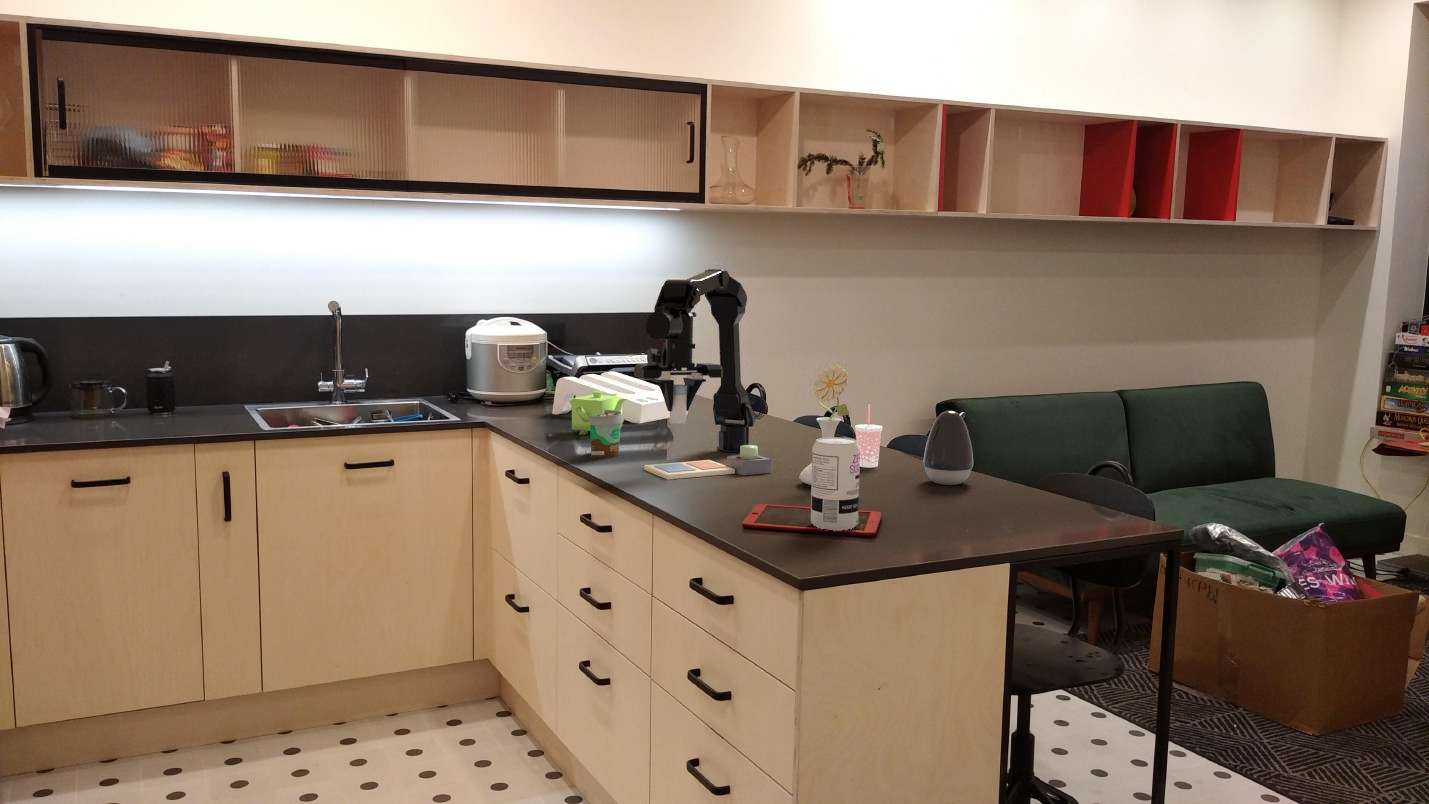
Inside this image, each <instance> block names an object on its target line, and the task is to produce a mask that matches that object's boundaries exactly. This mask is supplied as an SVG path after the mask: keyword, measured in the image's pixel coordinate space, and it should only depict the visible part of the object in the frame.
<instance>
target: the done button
mask: <svg viewBox="0 0 1429 804" xmlns="http://www.w3.org/2000/svg"><path fill="white" fill-rule="evenodd" d="M758 451H759V446H758V445H755V444H754V445H753V444H749V445H742V446H740V452H739V453H740V454H739V455H740V459H743V460H754V459H758V455H759V452H758Z"/></svg>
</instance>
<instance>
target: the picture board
mask: <svg viewBox="0 0 1429 804" xmlns="http://www.w3.org/2000/svg"><path fill="white" fill-rule="evenodd" d="M643 466H644V471H647V472H649V473H651V474H653V475H656V476H658V477H661V478H663V479H666V480H675V479H676V480H677V479H678V480H679V479H690V478H698V477H699V478H700V477H711V476H721V475H722V476H723V475H733V474H736V473H735V469H733V468H731V467H728V466H727V465H725V464H723V463H720V462H716V461H714V460H711V459H704V460H702V459H701V460H692V461H681V462H679V461H678V462H668V463H666V462H665V463H655V464H645V465H643Z"/></svg>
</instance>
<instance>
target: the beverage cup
mask: <svg viewBox="0 0 1429 804" xmlns="http://www.w3.org/2000/svg"><path fill="white" fill-rule="evenodd" d="M867 405H868V406H867V408H868V409H867V410H868V411H867V424H856V425H855V426H854V428H855V429H854V430H855V434H856V436H855V437H856V441H857V445H858V447H859V449H860V467H861V468H878V466H879V459H880V449H881V448H880V447H881V437H882V436H881V435H882V431H883V426H882V425H880V424H879V425H877V424H871V404H870V403H868V404H867Z"/></svg>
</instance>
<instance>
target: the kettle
mask: <svg viewBox="0 0 1429 804" xmlns="http://www.w3.org/2000/svg"><path fill="white" fill-rule="evenodd" d="M592 393H593V395H589V396H583V397H578V398H576V397H574V398H573V399H572V400H571V401H569V402H570V404H571V405H572V410H571V430H575V431H579V433H578V435H582V436H585V435H588V433H589V432H590V425H589V420H590V416H597V415H602V414H604V410H615V411H620V412H621V414H622V404H623V403H624V401H626V400H628V399H622V397H620V396H616V395H617V394H618V393H613V394H612V395H611V396H607V395H601V394H602V392H600V391H594V392H592ZM621 428H623V422H622V423H621Z"/></svg>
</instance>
